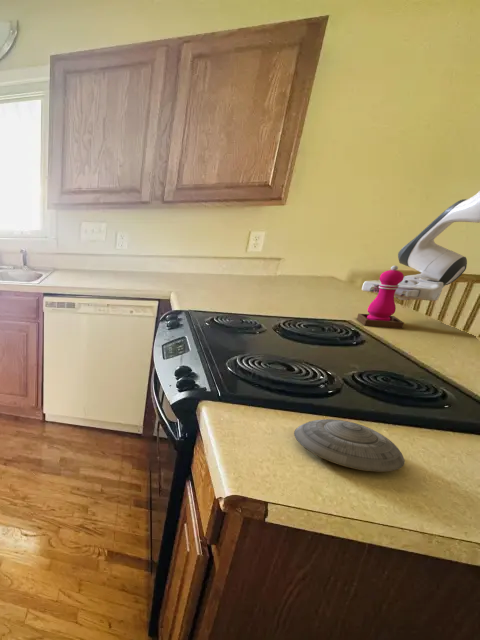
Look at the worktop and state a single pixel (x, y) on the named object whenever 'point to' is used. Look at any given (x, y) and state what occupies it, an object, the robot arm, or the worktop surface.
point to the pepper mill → (385, 295)
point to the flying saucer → (349, 445)
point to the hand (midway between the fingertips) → (387, 291)
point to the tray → (380, 322)
